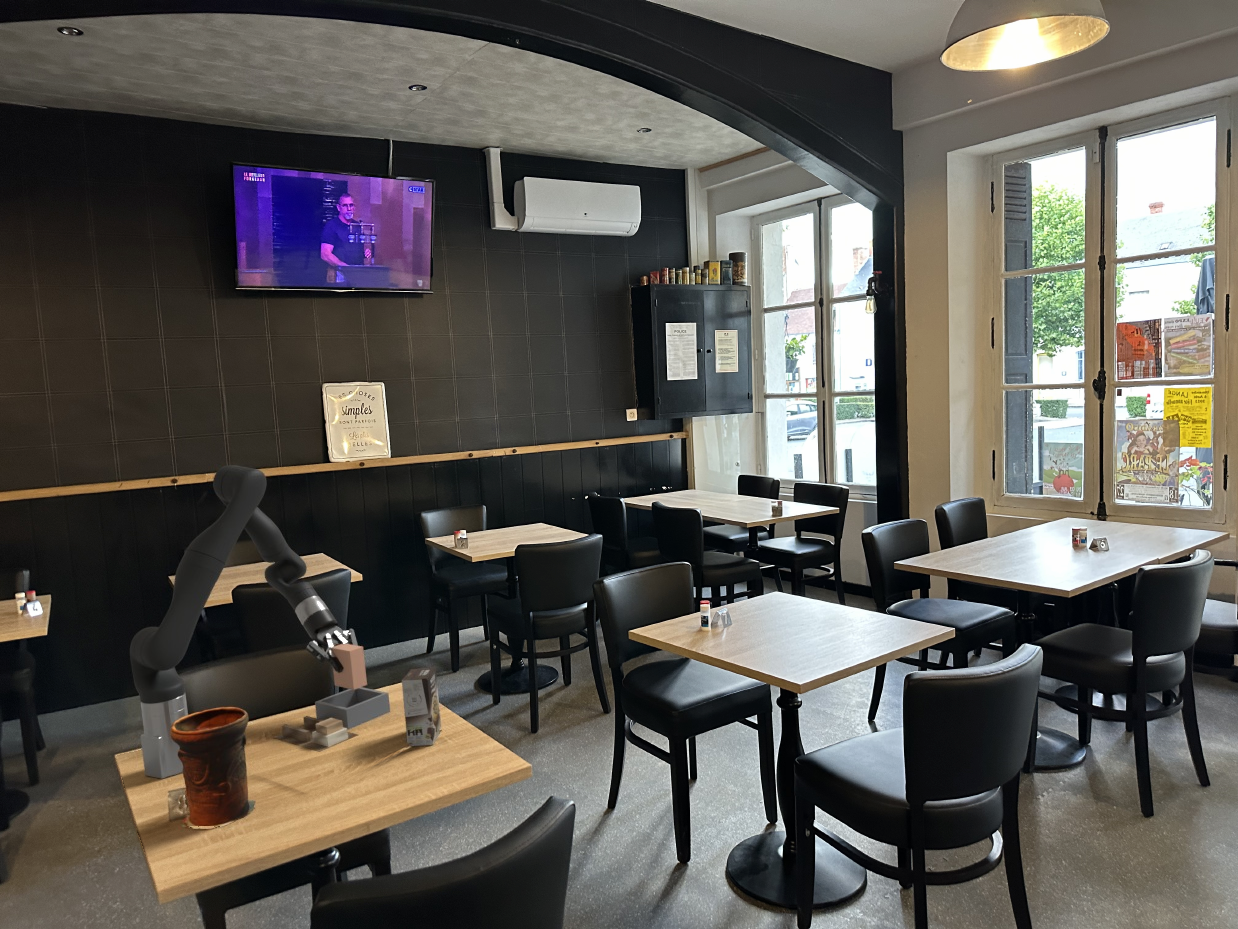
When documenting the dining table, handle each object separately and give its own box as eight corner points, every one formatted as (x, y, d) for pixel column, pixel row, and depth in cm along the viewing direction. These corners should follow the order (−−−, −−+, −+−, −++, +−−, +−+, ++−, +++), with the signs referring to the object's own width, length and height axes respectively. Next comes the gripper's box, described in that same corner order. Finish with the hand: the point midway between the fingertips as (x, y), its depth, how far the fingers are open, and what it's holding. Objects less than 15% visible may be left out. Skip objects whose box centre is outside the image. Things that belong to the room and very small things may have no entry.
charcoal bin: (317, 724, 223) (314, 702, 222) (359, 707, 233) (357, 686, 233) (348, 733, 215) (346, 709, 215) (390, 715, 225) (388, 693, 225)
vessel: (180, 807, 180) (172, 713, 179) (255, 792, 186) (247, 701, 184) (176, 838, 167) (167, 737, 165) (256, 820, 173) (248, 722, 171)
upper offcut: (316, 732, 208) (315, 724, 208) (332, 725, 211) (331, 717, 211) (327, 735, 205) (326, 727, 205) (343, 728, 209) (342, 720, 209)
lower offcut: (313, 742, 208) (312, 732, 208) (333, 734, 213) (332, 724, 212) (328, 747, 205) (327, 736, 204) (348, 738, 209) (347, 728, 209)
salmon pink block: (334, 685, 224) (330, 647, 223) (347, 680, 227) (343, 643, 227) (354, 689, 219) (349, 651, 219) (367, 684, 223) (363, 646, 222)
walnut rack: (273, 741, 213) (272, 727, 213) (312, 725, 222) (311, 712, 222) (320, 755, 202) (318, 741, 202) (359, 738, 211) (357, 724, 211)
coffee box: (434, 745, 203) (427, 678, 202) (406, 747, 204) (400, 680, 202) (442, 730, 213) (436, 666, 211) (416, 732, 213) (410, 667, 211)
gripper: (296, 615, 222) (330, 668, 216) (343, 601, 233) (377, 651, 227) (287, 633, 225) (320, 685, 219) (333, 619, 237) (366, 668, 231)
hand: (349, 667), depth 223 cm, fingers closed on salmon pink block, 4 cm apart
